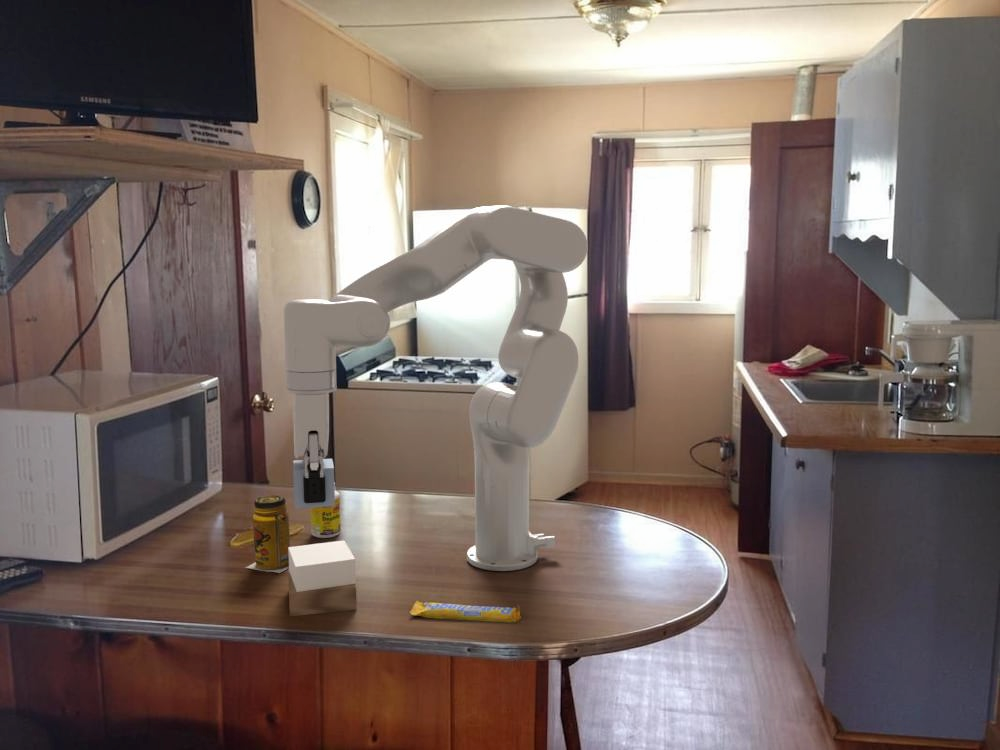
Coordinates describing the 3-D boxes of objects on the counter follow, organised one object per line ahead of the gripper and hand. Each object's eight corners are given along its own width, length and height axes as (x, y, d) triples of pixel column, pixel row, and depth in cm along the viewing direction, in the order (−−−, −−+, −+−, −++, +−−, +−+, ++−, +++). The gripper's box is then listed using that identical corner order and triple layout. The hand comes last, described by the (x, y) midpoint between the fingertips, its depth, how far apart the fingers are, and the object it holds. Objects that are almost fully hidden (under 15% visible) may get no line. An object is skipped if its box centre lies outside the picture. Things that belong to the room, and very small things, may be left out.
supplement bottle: (321, 541, 162) (319, 489, 160) (306, 534, 166) (303, 483, 164) (346, 534, 166) (344, 483, 164) (330, 527, 170) (328, 477, 168)
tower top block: (345, 563, 141) (344, 540, 140) (355, 583, 133) (355, 558, 132) (289, 571, 138) (288, 547, 137) (296, 592, 129) (295, 566, 129)
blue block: (333, 495, 136) (332, 458, 135) (334, 506, 131) (333, 468, 130) (294, 497, 135) (293, 460, 134) (294, 508, 129) (293, 470, 128)
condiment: (244, 568, 149) (241, 502, 147) (274, 552, 156) (271, 488, 155) (279, 574, 146) (276, 506, 144) (308, 557, 154) (305, 492, 152)
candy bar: (523, 614, 131) (523, 603, 130) (520, 627, 127) (520, 615, 126) (415, 608, 133) (415, 597, 133) (409, 620, 129) (408, 609, 129)
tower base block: (351, 586, 142) (351, 563, 141) (356, 611, 132) (355, 587, 131) (289, 592, 139) (288, 569, 138) (290, 618, 130) (288, 593, 129)
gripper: (286, 373, 137) (289, 482, 140) (285, 391, 121) (289, 514, 124) (333, 372, 139) (336, 480, 142) (339, 389, 123) (341, 511, 125)
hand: (314, 494), depth 133 cm, fingers closed on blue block, 6 cm apart
